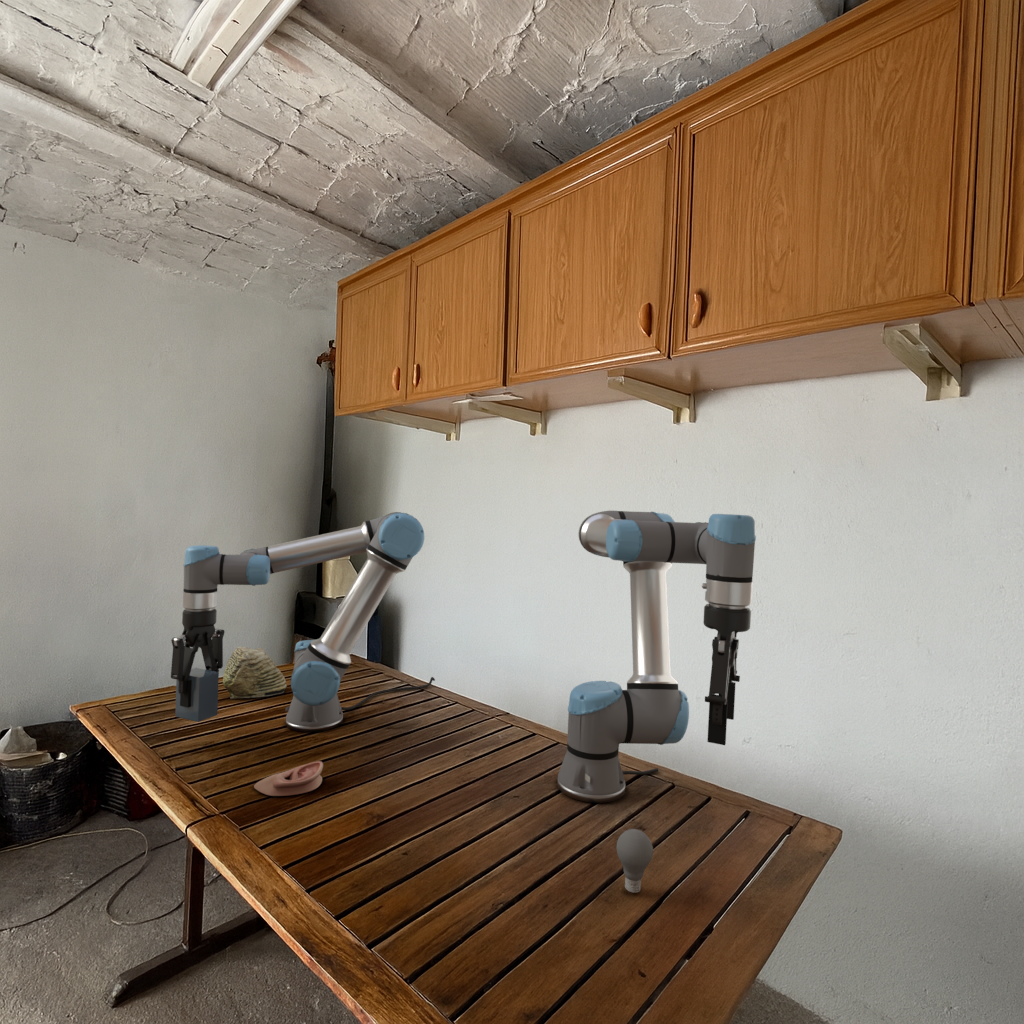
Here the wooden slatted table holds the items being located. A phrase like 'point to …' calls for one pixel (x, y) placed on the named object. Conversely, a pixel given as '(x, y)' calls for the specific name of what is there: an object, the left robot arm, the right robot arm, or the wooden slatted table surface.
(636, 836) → the light bulb
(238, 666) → the fossil
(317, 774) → the anatomical model
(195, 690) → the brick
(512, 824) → the wooden slatted table surface
